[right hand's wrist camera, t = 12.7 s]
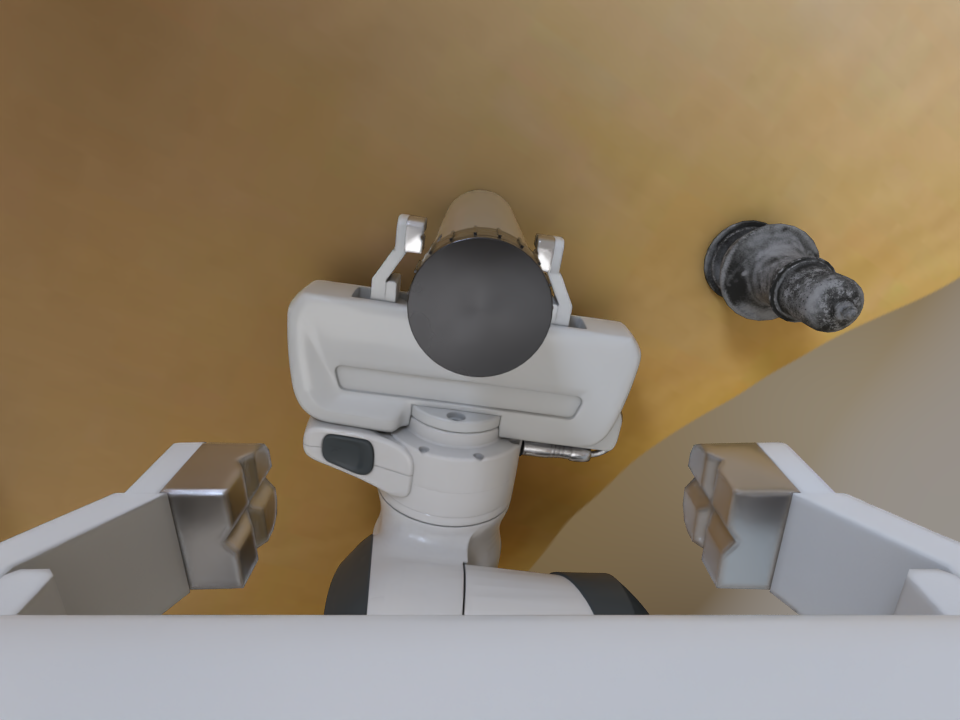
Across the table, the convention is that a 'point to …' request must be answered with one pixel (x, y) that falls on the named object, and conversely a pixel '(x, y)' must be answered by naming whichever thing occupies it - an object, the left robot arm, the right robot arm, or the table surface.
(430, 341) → the lid
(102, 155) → the table surface
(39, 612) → the right robot arm
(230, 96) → the table surface
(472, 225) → the grey cylindrical piece
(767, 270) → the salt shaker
